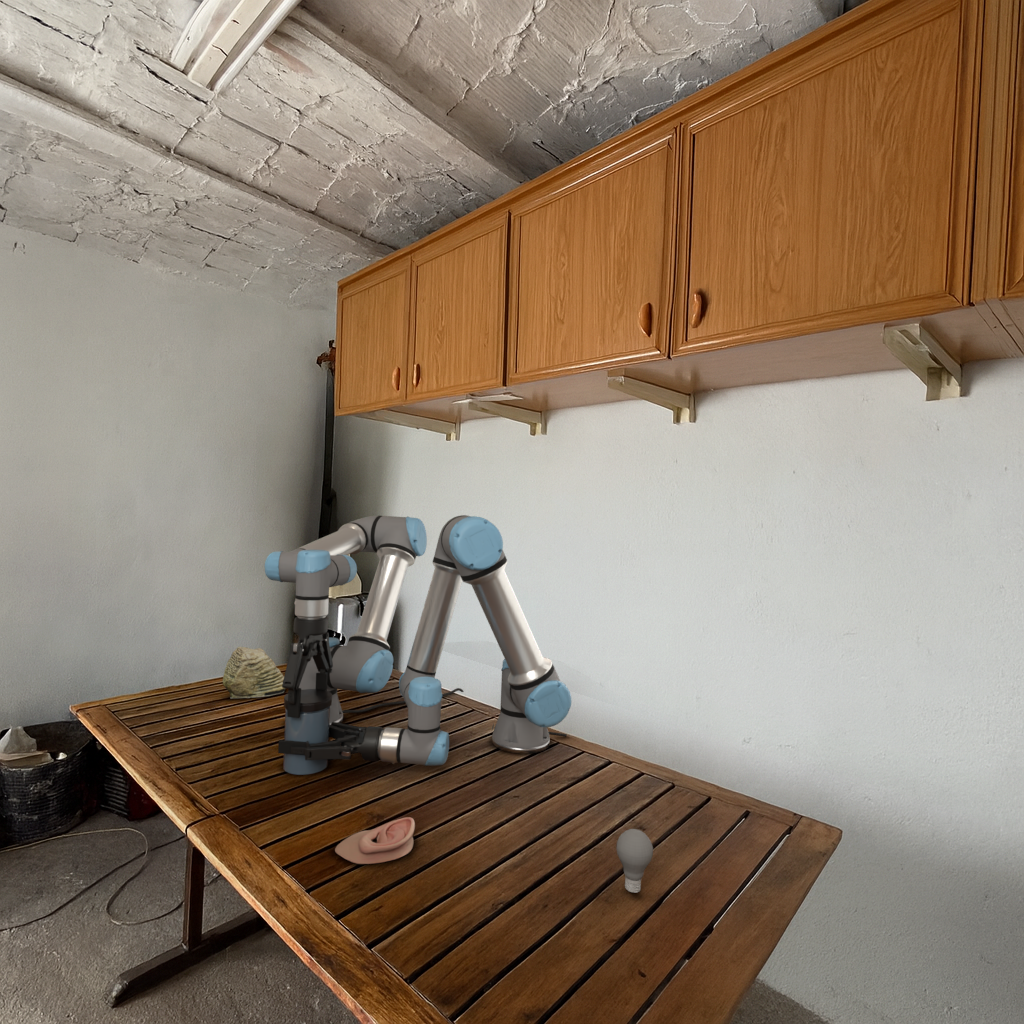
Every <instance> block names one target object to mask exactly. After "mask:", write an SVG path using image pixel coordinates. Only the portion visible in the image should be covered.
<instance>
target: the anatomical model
mask: <svg viewBox="0 0 1024 1024" xmlns="http://www.w3.org/2000/svg"><path fill="white" fill-rule="evenodd" d="M415 828H416V823H415V820H414V818H413V817H410V816H409V817H402V818H398V819H395V820H392V821H389V822H386V823H384V824H382V825H380V826H377V827H375V828H372V829H368V830H361V831H358V832H356V833H353V834H352V835H350V836H348V837H346V838H345V839H343V840H342V841H340V843H338V844H337V845H336V846H335V848H334V852H335V853H336V854H337V855H338V856H340V857H341V858H343V859H344V860H347V861H348V862H351V863H353V864H357V865H369V864H370V865H371V864H380V863H385V862H390V861H394V860H398V859H400V858H402V857H404V856H407V855H408V854H409V853H410V852H411V851H412V849H413V847H414V837H413V835H414V833H415Z"/></svg>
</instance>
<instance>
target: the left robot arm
mask: <svg viewBox="0 0 1024 1024" xmlns="http://www.w3.org/2000/svg"><path fill="white" fill-rule="evenodd" d="M427 542H428V538H427V530H426V527H425V524H424V522H423V521H422V520H421V519H420V518H418V517H412V516H411V517H410V516H393V515H380V514H379V515H377V514H375V515H369V516H368V515H367V516H365V517H361V518H358V519H355V520H352V521H349V522H347V523H345V524H342V525H341V526H340V527H339V528H338V530H337V531H334V532H332V533H330V534H328V535H325V536H323V537H320V538H318V539H316V540H313V541H311V542H309V543H307V544H305V545H302V546H300V547H298V548H295V549H292V550H290V551H283V550H281V551H272V552H270V553H269V555H267V557H266V558H265V563H264V573H265V576H266V577H267V578H268V579H269V580H270V581H273V582H280V583H292V584H295V599H294V615H295V617H294V620H293V632H294V634H295V635H297V636H298V641H297V642H291V643H290V646H289V655H288V659H287V663H286V668H285V672H284V675H283V676H284V680H283V684H282V688H286V689H287V694H288V712H287V717H293V718H299V717H300V706H301V690H304V689H320V690H325V691H328V692H330V693H331V694H332V704H331V706H330V723H329V724H330V725H331V723H332V722H337V723H342V724H343V722H344V714H360V713H365V712H368V711H371V710H374V709H377V708H380V707H385V706H393V705H402V704H406V703H405V700H397V701H390V702H389V701H388V702H383V703H378V704H375V705H372V706H369V707H366V708H363V709H342V706H341V702H340V699H339V695H338V690H342V691H350V692H358V693H361V694H365V693H369V694H374V693H375V694H376V693H378V692H380V691H381V690H382V689H384V687H385V686H386V685H387V684H388V682H389V680H390V678H391V675H392V673H393V670H394V665H393V664H394V656H393V653H392V652H391V651H390V650H391V646H390V645H389V643H388V641H387V640H388V637H389V633H390V630H391V626H392V623H393V619H394V616H395V614H396V613H395V612H396V610H397V606H398V602H399V599H400V596H401V592H402V589H403V585H404V582H405V578H406V575H407V572H408V568H409V567H412V566H414V564H415V562H416V558H417V557H421V556H424V554H425V553H426V550H427V545H428V543H427ZM359 553H374V554H376V555H377V557H378V559H379V561H378V564H377V567H376V570H375V574H374V577H373V579H372V583H371V586H370V590H369V593H368V596H367V598H366V602H365V605H364V608H363V612H362V615H361V618H360V621H359V624H358V627H357V630H356V633H354V634H352V635H350V636H349V638H348V641H347V643H346V645H341V641H340V639H339V638H338V637H330V633H329V632H328V627H329V624H328V623H329V618H328V617H327V616H328V615H329V605H330V602H329V601H330V600H329V599H330V588H334V587H339V586H344V585H346V584H348V583H351V582H352V581H353V580H354V579H355V578H356V576H357V573H358V566H357V563H356V561H355V559H354V558H353V557H351V556H350V555H357V554H359ZM464 691H465V690H464V689H462V688H460V687H456V688H454V689H452V690H450V691H449V692H444V693H442V698H443V697H446V696H450V695H453V694H454V693H456V692H460V693H464ZM336 727H337V726H336Z"/></svg>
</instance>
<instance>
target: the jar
mask: <svg viewBox="0 0 1024 1024" xmlns="http://www.w3.org/2000/svg"><path fill="white" fill-rule="evenodd" d="M284 709H285V710H284V711H285V713H284V735H283V737H284V739H283V740H287V741H301V742H306V741H309V744H313V743H321V742H329V741H330V738H329V723H330V706H329V707H328V708H326V709H323V710H319V711H313V712H300V717H299V718H293V717H287V712H288V710H287V709H286V708H285V707H284ZM282 764H283V765H282V766H283V767H282V769H283V771H284V772H286V773H288V774H291V775H298V776H302V775H303V776H305V775H312V774H316V773H319V772H322V771H323V770H325V769H327V767H328V765H329V759H326V760H305V755H297V754H283V763H282Z"/></svg>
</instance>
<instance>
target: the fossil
mask: <svg viewBox="0 0 1024 1024" xmlns="http://www.w3.org/2000/svg"><path fill="white" fill-rule="evenodd" d="M222 676H223V677H222V685H223V687H224V688H225V690H226V691H228V693H229V698H230V699H250V698H264V697H271V696H275V695H281V694H284V693H285V691H286V689H287V688H282V684H283V680H284V676H285V675H284V674H283V673H282V672H281V669H279V668H278V667H277V665H276V663H275V662H274V660H273V659H272V658H271V657H270V656H269V655H268V654H267V653H266V652H265V650H264V649H263V648H260V647H258V648H251V647H247V646H246V647H245V646H238V647H237V648H236V649H235V650H233V651H232V653H231V656H230V657H229V659H228V660H227V663H226V666H225V668H224V671H223V675H222Z"/></svg>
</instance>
